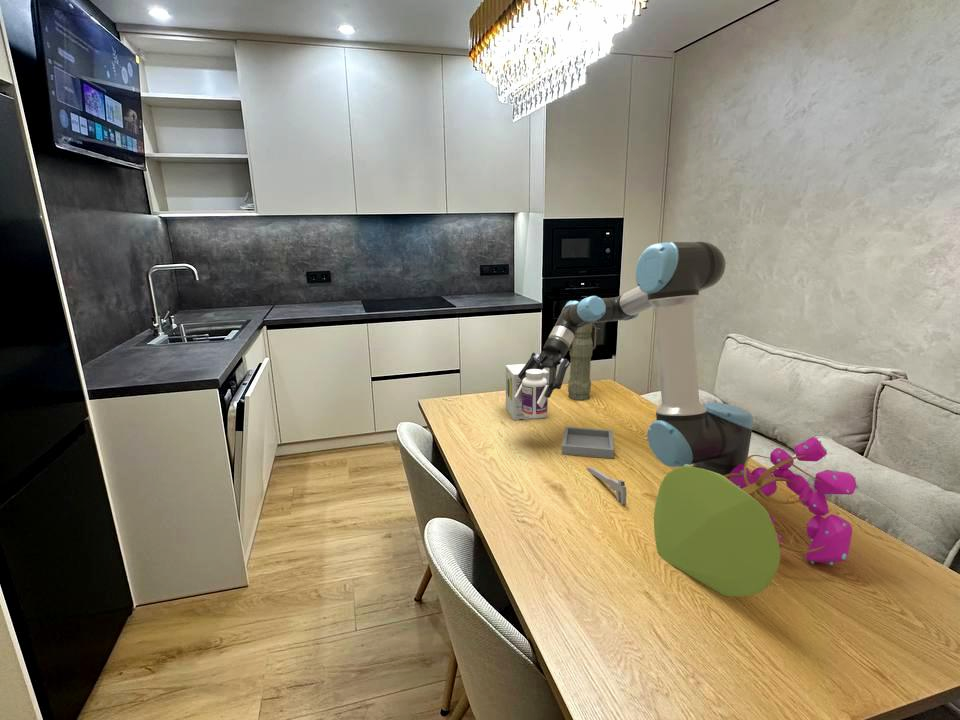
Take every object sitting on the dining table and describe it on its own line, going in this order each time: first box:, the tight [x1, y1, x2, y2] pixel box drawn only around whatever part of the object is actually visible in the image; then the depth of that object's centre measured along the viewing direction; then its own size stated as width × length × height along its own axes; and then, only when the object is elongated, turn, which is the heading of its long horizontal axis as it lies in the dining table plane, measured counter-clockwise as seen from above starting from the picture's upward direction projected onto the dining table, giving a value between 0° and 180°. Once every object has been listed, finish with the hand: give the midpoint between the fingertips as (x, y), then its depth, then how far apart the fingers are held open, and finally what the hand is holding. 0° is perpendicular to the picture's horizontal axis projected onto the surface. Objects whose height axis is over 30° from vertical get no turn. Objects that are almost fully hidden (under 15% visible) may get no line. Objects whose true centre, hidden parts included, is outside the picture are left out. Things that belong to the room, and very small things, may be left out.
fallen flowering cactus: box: [653, 436, 860, 598], centre depth 104 cm, size 30×28×35 cm
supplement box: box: [505, 363, 549, 421], centre depth 185 cm, size 13×13×18 cm
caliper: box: [586, 466, 628, 506], centre depth 133 cm, size 20×1×6 cm, turn 14°
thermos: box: [567, 323, 598, 402], centre depth 199 cm, size 9×12×35 cm
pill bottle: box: [522, 369, 549, 419], centre depth 157 cm, size 8×8×14 cm
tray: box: [561, 426, 615, 459], centre depth 158 cm, size 15×15×3 cm
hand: (528, 402), depth 155 cm, fingers closed on pill bottle, 8 cm apart
